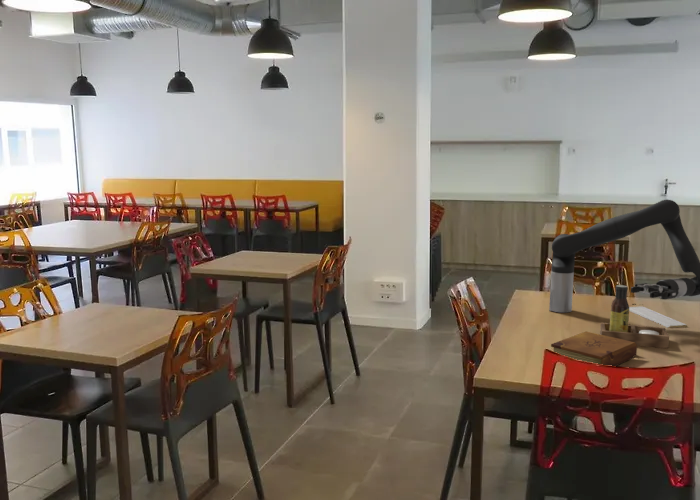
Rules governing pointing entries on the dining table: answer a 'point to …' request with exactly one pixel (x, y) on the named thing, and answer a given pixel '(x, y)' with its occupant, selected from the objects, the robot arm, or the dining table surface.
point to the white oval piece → (648, 332)
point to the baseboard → (656, 317)
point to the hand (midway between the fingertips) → (641, 292)
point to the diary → (596, 348)
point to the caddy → (639, 335)
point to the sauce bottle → (619, 310)
